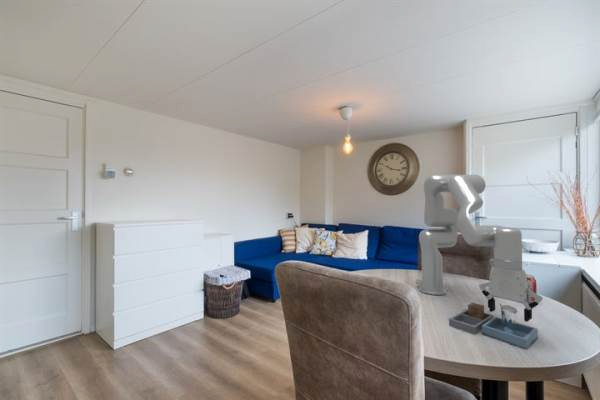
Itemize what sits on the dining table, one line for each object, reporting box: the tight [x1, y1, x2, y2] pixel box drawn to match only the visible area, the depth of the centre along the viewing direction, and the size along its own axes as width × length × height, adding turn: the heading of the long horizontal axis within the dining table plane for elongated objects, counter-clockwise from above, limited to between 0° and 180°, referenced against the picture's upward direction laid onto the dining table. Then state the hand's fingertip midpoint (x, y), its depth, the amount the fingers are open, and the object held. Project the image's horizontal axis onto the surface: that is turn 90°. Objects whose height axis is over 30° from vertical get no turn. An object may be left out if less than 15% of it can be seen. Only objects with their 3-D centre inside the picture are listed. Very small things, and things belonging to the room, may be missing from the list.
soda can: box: [526, 273, 537, 303], centre depth 120 cm, size 7×7×12 cm
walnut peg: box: [467, 302, 485, 320], centre depth 102 cm, size 4×4×6 cm
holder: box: [448, 308, 495, 335], centre depth 100 cm, size 9×16×2 cm, turn 126°
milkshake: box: [499, 303, 518, 335], centre depth 91 cm, size 4×5×10 cm
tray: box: [481, 316, 539, 350], centre depth 90 cm, size 12×12×3 cm
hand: (509, 315), depth 90 cm, fingers open, 9 cm apart
